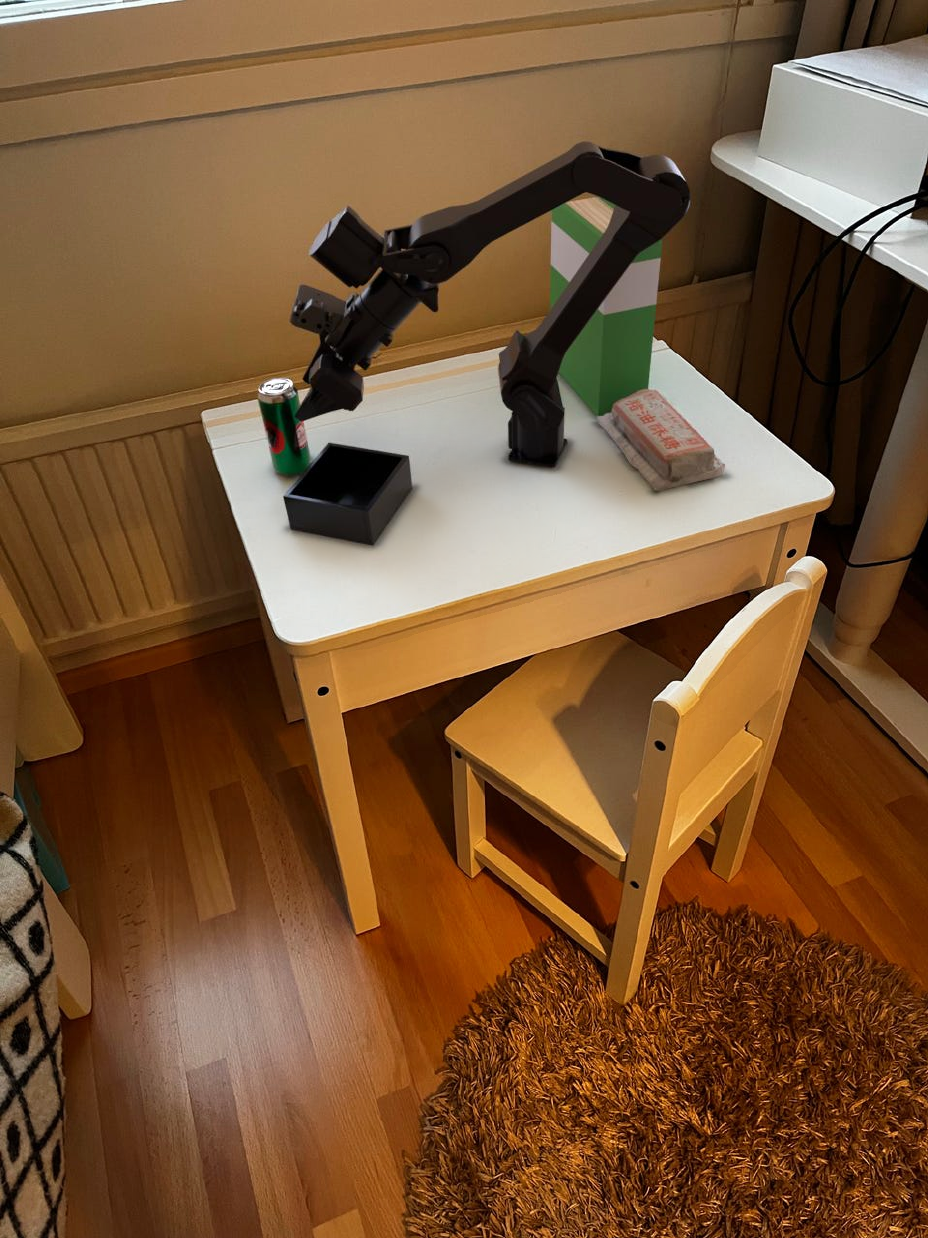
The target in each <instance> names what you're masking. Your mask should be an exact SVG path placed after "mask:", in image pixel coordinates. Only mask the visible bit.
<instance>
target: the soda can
mask: <svg viewBox="0 0 928 1238" xmlns="http://www.w3.org/2000/svg"><path fill="white" fill-rule="evenodd" d="M257 403H258V407H259V410H260V415H261V420H262V423H263V428H264V432H265V436H266V441H267V445H268V450H269V454H270V459H271V463H272V467H273V469H274V470H275V472H277V473H278V474H280V475H282V476H288V477H292V476H298V475H301V474H302V473H303V472H304V471H305V470H306V469H307V467H308V466H309V465H310V464H311V463H312V457H311V452H310V446H309V442H308V436H307V431H306V427H305V421H299V420H298V419H297V418H295V414H296V412H297V410H298V409H299V407H300V405H301V401H300V396H299V390H298V388H296V386H295V385H294V382H293V380H291V379H289V378H287V377H286V378H285V377H274V378H270V379H267V380H265V381H263V382H261V383H260V385H259V386H258V392H257Z"/></svg>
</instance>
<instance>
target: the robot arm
mask: <svg viewBox="0 0 928 1238" xmlns="http://www.w3.org/2000/svg"><path fill="white" fill-rule="evenodd" d="M585 193H588V194H591V195H593V196H595V197H596V196H599V197H601V198H603V199H605V200H607V201H609V202H611V203H612V204H614V205H615V207H614V210H613V213H612V216H611V219H610V222H609V225H608V227H607V229H606V231H605V232H604V233H603V235H602V236H601V238H600V239H599V241H598V242H597V244H596V245H595V246H594V248H593V249H592V251H591V252H590V254H589V255H588V256H587V258H586V259H585V261H584V262H583V264H582V265H581V267H580V268H579V269H578V271H577V272H576V274H575V275H574V277H573V278H572V279H571V281H570V282H569V284H568V285H567V287H566V288H565V289H564V291H563V292H562V294H561V295H560V297H559V298H558V300H557V301H556V302H555V304H554V305H553V307H552V308H551V310H550V309H549V311H548V312H547V314H546V315H545V317H544V318H543V319H542V321H541V322H540V324H539V325H538V326H537V327H536V328H535V329H534V330H533V331H531V332H529V333H528V334H526V335H524V334H522V332H520V331H519V330H517V329H516V330H515V331H514V333H513V334H512V336H511V338H510V341H509V343H508V344H507V346H506V347H505V348H504V349H503V350H501V351H500V352H498V360H499V363H498V365H497V375H498V382H499V389H500V397H501V401H502V404H503V405H504V406H505V408H507V409H508V410H509V411H511V417H510V418H509V420H508V421H507V443H508V444H507V445H508V449H509V450H510V452H509V454H508V455H507V460H508V461H509V462H514V463H520V464H527V465H533V466H539V467H546V468H551V469H552V468H555V467H556V466H557V465H558V462H559V460H560V459H561V457H562V455H563V453H564V451H565V449H566V447H567V445H568V439H567V438H565V414H566V413H565V412H566V411H565V409H566V408H565V407H564V404H563V399H562V395H561V391H560V386H559V381H558V379H557V378H558V375H559V369H560V366H561V363H562V360H563V357H564V355H565V353H566V352H567V350H568V349H569V348H570V346H571V345H572V344H573V342H574V341H575V339H576V338H577V337H578V335H579V334H580V333H581V331H582V330H583V328H584V327H585V326H586V324H587V323H588V322H589V320H590V319H591V318H592V316H593V315H594V313H595V312H596V311H597V309H598V308H599V307H600V305H601V304H602V303H603V301H604V300H605V298H606V297H607V296H608V294H609V293H610V292H611V290H612V289H613V288H614V286H615V285H616V283H617V282H618V281H619V279H620V278H621V277H622V275H623V274H624V272H625V271H626V270H627V268H628V267H629V266H630V264H631V263H632V262H633V260H634V259H635V258H636V256H637V255H638V254H639V253H641V252H642V251H644V250H645V249H647V248H649V247H650V246H652V245H653V244H655V243H657V242H658V241H660V240H661V239H662V238H663V239H664V237H665V236H666V235H667V234H669V232H670V231H671V230H672V229H673V228H674V227H675V226H676V225H677V224H678V223H679V222H680V221H681V220H682V219H683V218H684V217H685V215H686V213H687V212H688V210H689V208H690V205H691V191H690V187H689V185H688V182H687V180H686V179H685V177H684V176H683V174H682V172H681V171H680V170H679V167H678V166H677V165H676V163H675V162H674V161H673V160H672V159H671V158H670V157H668V156H665V155H663V154H652V155H648V156H640V155H637V154H636V153H635V154H634V153H632V152H629V151H625V150H619V149H613V148H607V147H603V146H600V145H597V144H596V143H593V142H591V141H581V142H577V143H576V144H574V145H573V146H572V147H571V148H570V149H568V150H567V151H565V152H564V153H562V154H561V155H559V156H557V157H555V158H553V159H551V160H550V161H548V162H546V163H544V164H542V165H541V166H538V167H537V168H535V169H532V170H531V171H529V172H527V173H526V174H523V175H522V176H520V177H517V178H516V179H514V180H513V181H511V182H509V183H507V184H505V185H504V186H502V187H499V188H498V189H496V190H495V191H493V192H490V193H489V194H488V195H486V196H484V197H482V198H480V199H478V200H475V201H473V202H470V203H467V204H459V205H451V206H447V207H444V208H441V209H438V210H436V211H435V210H434V211H432V212H430V213H426V214H423V215H422V216H420V217H418V218H417V219H416V220H414V222H413V223H412V224H409V225H408V224H407V225H403V226H399V227H393V228H390V229H389V228H388V229H385V230H384V229H383V231H382V234H379V232H377V231H376V230H375V229H374V228H372V227H371V226H370V225H369V224H368V223H366V222H365V220H363V219H362V217H361V216H360V215H359V214H358V212H357V211H355V209H353V208H352V207H351V206H350V205H346V206H345V207H344V209H343V210H342V211H341V212H338V213H337V214H336V215H335V216H334V217H333V218H332V219H331V220H329V219H328V221H327V223H326V224H325V225H324V226H323V228H322V229H321V230H320V232H319V233H318V235H317V236H316V238H315V240H314V241H313V243H312V245H311V246H310V248H309V251H308V256H309V257H311V258H312V259H313V260H314V261H316V263H318V264H319V265H320V266H322V268H324V269H325V270H326V271H328V272H329V273H330V274H331V275H332V276H334V277H335V278H337V279H338V280H339V281H340V282H341V283H342V284H344V285H345V286H346V287H348V288H352V287H353V288H354V289H356V290H357V289H358V288H359V287H360V286H361V287H364V286H365V285H366V286H365V288H364V289H363V290H362V292H360V294H358V292H355V293H354V294H353V293H351V294H350V295H349V297H347V299H346V300H344V299H341V298H339V297H337V296H335V295H334V294H331V293H329V292H326V291H323V290H320V289H319V288H315V287H314V286H313V287H312V286H310V285H307V284H299V286H298V287H297V291H296V294H295V298H294V302H293V305H292V308H291V313H290V315H289V323H290V324H291V325H292V326H293V327H296V328H299V329H302V330H305V331H307V332H310V333H313V334H316V335H318V336H319V337H318V338H319V343H318V346H317V347H316V350H315V351H314V354H313V356H312V358H311V360H310V362H309V364H308V365H307V368H306V369H305V372H304V374H303V375H302V376H303V377H302V381H303V382H304V383H305V384H307V385H310V388H309V390H308V392H307V394H306V395H305V396H304V398H303V400H302V401H301V402H300V407H299V409H298V410H297V412H296V414H295V418H297V419H298V420H299V421H304V422H306V421H309V420H310V419H314V418H316V417H320V416H322V415H326V414H329V413H333V412H336V411H340V410H344V411H348V412H354V411H355V410H356V409H357V407H359V405H360V404H361V403H362V402H363V399H364V390H365V383H364V377H363V375H361V374H360V373H359V372H357V371H356V370H355V369H356V366H358V367H359V368H361V369H362V370H364V371H367V370H368V369H369V368H370V367H371V366H372V357H374V355H375V354H376V353H377V352H378V350H380V348H381V347H382V346H383V345H384V346H385V347H386V348H388V347H389V346H390V345H391V343H392V342H393V338H394V337H393V336H394V333H395V332H396V331H397V330H398V328H399V327H400V326H401V325H402V324H403V323H404V321H406V319H407V318H408V317H409V316H410V315H411V314H412V313H413V311H414V310H415V309H417V307H418V306H419V305H420V304H421V303H422V304H423V305H424V306H425V307H427V309H428V310H430V311H431V312H433V313H438V311H439V291H440V284H443V283H446V282H447V281H449V280H451V279H452V278H453V277H454V276H456V275H457V274H458V273H460V272H461V271H463V269H465V268H466V267H468V266H469V265H470V264H471V263H472V262H473V261H474V259H476V258H477V256H478V255H479V254H480V253H481V252H483V250H484V249H486V248H487V247H488V246H489V245H490V244H492V243H493V242H494V241H496V240H498V239H500V238H502V237H504V236H506V235H508V234H509V233H512V232H513V231H515V230H517V229H519V228H521V227H522V226H524V225H527V224H528V223H530V222H532V221H534V220H536V219H538V218H540V217H542V216H543V215H545V214H547V213H549V212H551V210H553V209H555V208H557V207H558V206H560V205H562V204H564V203H566V202H571V201H573V200H574V199H575V198H577V197H579V196H581V195H583V194H585ZM379 269H380V270H379ZM378 270H379V271H378ZM377 272H378V273H377ZM376 273H377V274H376ZM375 274H376V275H375Z"/></svg>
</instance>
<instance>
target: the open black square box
mask: <svg viewBox="0 0 928 1238" xmlns="http://www.w3.org/2000/svg"><path fill="white" fill-rule="evenodd" d="M412 490H413V480H412V471H411V461H410V455H407V454H401V453H396V452H395V453H394V452H390V451H383V450H378V449H377V450H376V449H370V448H364V447H360V446H353V445H348V444H347V445H346V444H341V443H334V442H327V444H326V445H325V446H324V447H323V448H322V450H321V451H320V452H319V453H318V454H317V456H316V457H315V458H314V459H313V460H312V461H311V464H310V465H309V466H308V467H307V469H306V470H305V471H304V472H303V473H301V474H300V476H299V477H298V478H297V479H296V480H295V481H294V482H293V484H292V485H291V486H290V487H289V488H288V490H287V491H286V492H285V493H284V494H283V496H282V498H283V502H284V506H285V511H286V516H287V519H288V524H289V528H290V530H291V531H297V532H302V533H306V534H312V535H317V536H322V537H327V538H331V539H337V540H341V541H346V542H347V541H348V542H352V543H356V544H362V545H368V546H372V547H374V546H375V544H376V543H377V542H378V540H379V538H381V535H382V534H383V532H384V531H385V529H386V528H387V527H388V526H389V524H390V522H391V521H392V520H393V518H394V517H395V515H396V514H397V512H398V511H399V509H400V508H401V507H402V505H403V503H404V502H405V501H406V499H407V498H408V496H409V494H410V493H411V492H412Z"/></svg>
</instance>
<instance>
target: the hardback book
mask: <svg viewBox="0 0 928 1238" xmlns="http://www.w3.org/2000/svg"><path fill="white" fill-rule="evenodd" d="M614 207H615V205H614V204H612V203H611V202H609V201H607V200H605V199H603V198H601V197H599V196H596V195H595V196H594V197H589V198H583V199H577V200H570V201H568V202H566V203H564V204H562V205H560V206H558V207H557V208H555V209H553V210H551V211H550V213H551V215H550V216H551V217H550V220H551V221H550V224H551V225H550V283H549V284H550V286H549V287H550V290H549V291H550V292H549V296H550V297H549V311H550V310H551V308H552V307H553V305H554V304H555V302H556V301H557V300H558V298H559V297H560V295H561V294H562V292H563V291H564V289H565V288H566V287H567V285H568V284H569V282H570V281H571V279H572V278H573V277H574V275H575V274H576V272H577V271H578V269H579V268H580V267H581V265H582V264H583V262H584V261H585V259H586V258H587V256H588V255H589V254H590V252H591V251H592V249H593V248H594V246H595V245H596V244H597V242H598V241H599V239H600V238H601V236H602V235H603V233H604V232H605V231H606V229H607V227H608V225H609V222H610V219H611V216H612V213H613V210H614ZM663 239H664V237H663V238H662V239H661V240H660V241H658V242H657V243H655V244H653V245H652V246H650V247H649V248H647V249H645V250H644V251H642V252H641V253H639V254H638V255H637V256H636V258H635V259H634V260H633V262H632V263H631V264H630V266H629V267H628V268H627V270H626V271H625V272H624V274H623V275H622V277H621V278H620V279H619V281H618V282H617V283H616V285H615V286H614V288H613V289H612V290H611V292H610V293H609V294H608V296H607V297H606V298H605V300H604V301H603V303H602V304H601V305H600V307H599V308H598V309H597V311H596V312H595V313H594V315H593V316H592V318H591V319H590V320H589V322H588V323H587V324H586V326H585V327H584V328H583V330H582V331H581V333H580V334H579V335H578V337H577V338H576V339H575V341H574V342H573V344H572V345H571V346H570V348H569V349H568V350H567V352H566V353H565V355H564V357H563V360H562V363H561V366H560V369H559V372H558V375H560V376H561V377H562V378H563V379H564V381H565V382H566V384H568V385H569V386H570V388H571V389H572V391H574V393H576V394H577V396H578V397H579V399H581V401H582V402H583V403H584V404H585V405H586V406H587V408H589V410H590V411H591V412H592V413H593V414H594V415H595V416H596V417H597V416H604V415H605V414H606V413H611V412H612V407H613V405H614V403H616V402H617V401H619V400H621V399H622V398H625V397H628V396H630V395H632V394H634V393H636V392H637V391H639V390H643V389H649V384H650V374H651V363H652V352H653V344H654V343H653V341H654V332H655V323H656V312H657V300H658V290H659V281H660V280H659V279H660V271H661V260H662V249H663Z"/></svg>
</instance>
